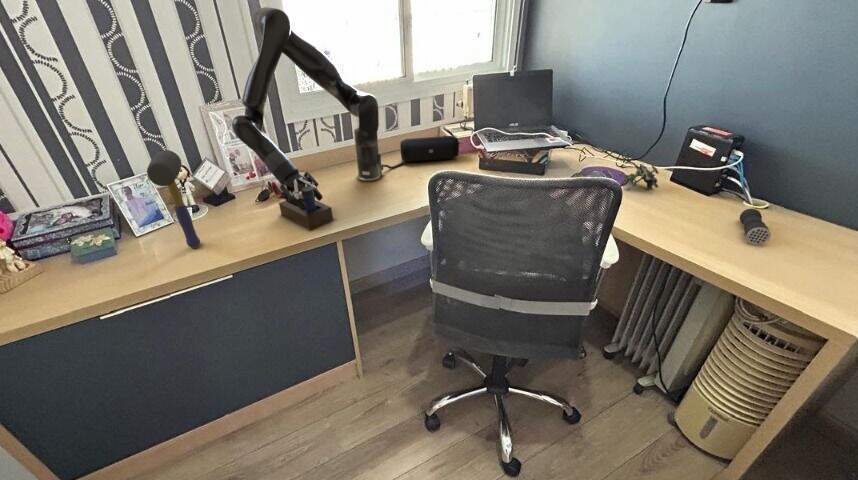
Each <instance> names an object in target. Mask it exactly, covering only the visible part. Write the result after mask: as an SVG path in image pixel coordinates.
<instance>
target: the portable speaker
mask: <svg viewBox="0 0 858 480" xmlns="http://www.w3.org/2000/svg"><path fill="white" fill-rule="evenodd" d="M458 141H459V139H458V137H456V136H454V135H443V136H442V135H441V136H427V137H415V138H413V137H412V138H405V139H403V140H401V141H400V143H399V144H400V158H401V161H402V162H404V161H407V162H408V163H419V162H430V161H444V160H445V161H446V160H452V159H454V158H457V157H458V156H459V153H460V143H459V142H460V141H459V142H458Z"/></svg>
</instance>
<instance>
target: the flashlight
mask: <svg viewBox="0 0 858 480" xmlns="http://www.w3.org/2000/svg"><path fill="white" fill-rule="evenodd" d="M762 217H763V215H762V213H761V211H760V210H758V209H757V208H746V209H744V210H743V211H742V212H741V213H740V214H739V221H740V223H741V225H743V227H744V229H743V231H744V236H745V239H746V241H747V243H749V244H750V245H753V246H760V245H763V244H766V243H767V242H768V241H769V240H770V239H771V237H772V234H771V232H770V229H769V227H768V226H767V225H766V223H765V222H764V221H763V219H762Z"/></svg>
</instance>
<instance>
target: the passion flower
mask: <svg viewBox="0 0 858 480" xmlns="http://www.w3.org/2000/svg"><path fill="white" fill-rule="evenodd" d="M634 168H635V169H636V172H635V173H630V174H628V175H626V174H625V172H623V171H622V172H621V173H620V174H619V177H620V178H621V177H622V176H624V178H623V181H625V182H624V183H623V186H625V185H626V184H627V183H629V184H630V186H629V187H628V190H630V189H631V188H633V187H634V186H636V185H637V183H639V182H640V181H642V180H643V182H644V183H646V189H648V190H653V187H655V188H656V189H657V188H659V185H658V178H656V177H655V176H656V174H657V175H658V174H659V170H658V168H657V167H656V166H655V165H651V168H652V170H649V169H648V168H647V166H646V165H644V164H642V163H640V164H639V165H637V163H635V164H634ZM654 173H655V174H654ZM638 177H640V178H639V179H638V180H636V178H638Z"/></svg>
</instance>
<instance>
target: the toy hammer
mask: <svg viewBox="0 0 858 480" xmlns="http://www.w3.org/2000/svg"><path fill="white" fill-rule="evenodd" d="M299 174H300V175H302V174H301V173H299ZM270 185H271V190H272V192H273V194H274V195H275V196H276V197H278V198H280V197H283V196H282V195H281V193H280V192H279V191H278V189H279V188H280V186H281V185H283V184H281V183H280V182H279V181H278V180H277V179H274V180H272V181H271V184H270ZM288 191H289V193H290V190H288ZM301 194H302V192H301V191H299V193H298V195H301Z"/></svg>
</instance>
